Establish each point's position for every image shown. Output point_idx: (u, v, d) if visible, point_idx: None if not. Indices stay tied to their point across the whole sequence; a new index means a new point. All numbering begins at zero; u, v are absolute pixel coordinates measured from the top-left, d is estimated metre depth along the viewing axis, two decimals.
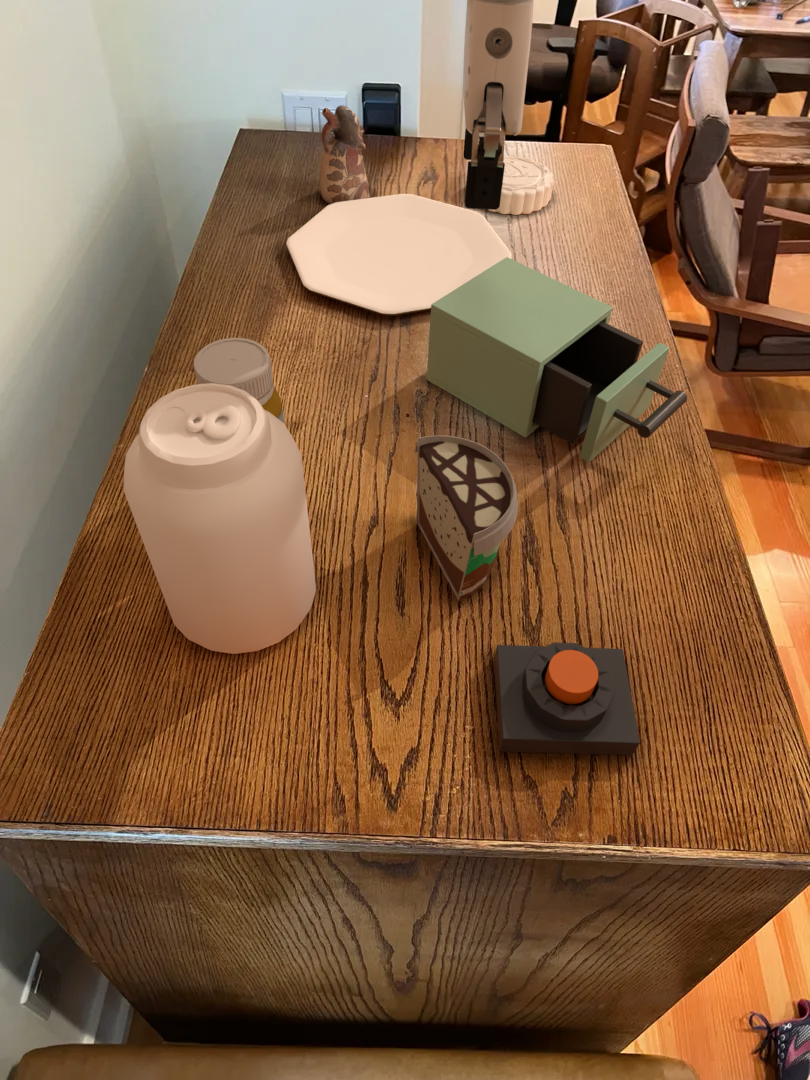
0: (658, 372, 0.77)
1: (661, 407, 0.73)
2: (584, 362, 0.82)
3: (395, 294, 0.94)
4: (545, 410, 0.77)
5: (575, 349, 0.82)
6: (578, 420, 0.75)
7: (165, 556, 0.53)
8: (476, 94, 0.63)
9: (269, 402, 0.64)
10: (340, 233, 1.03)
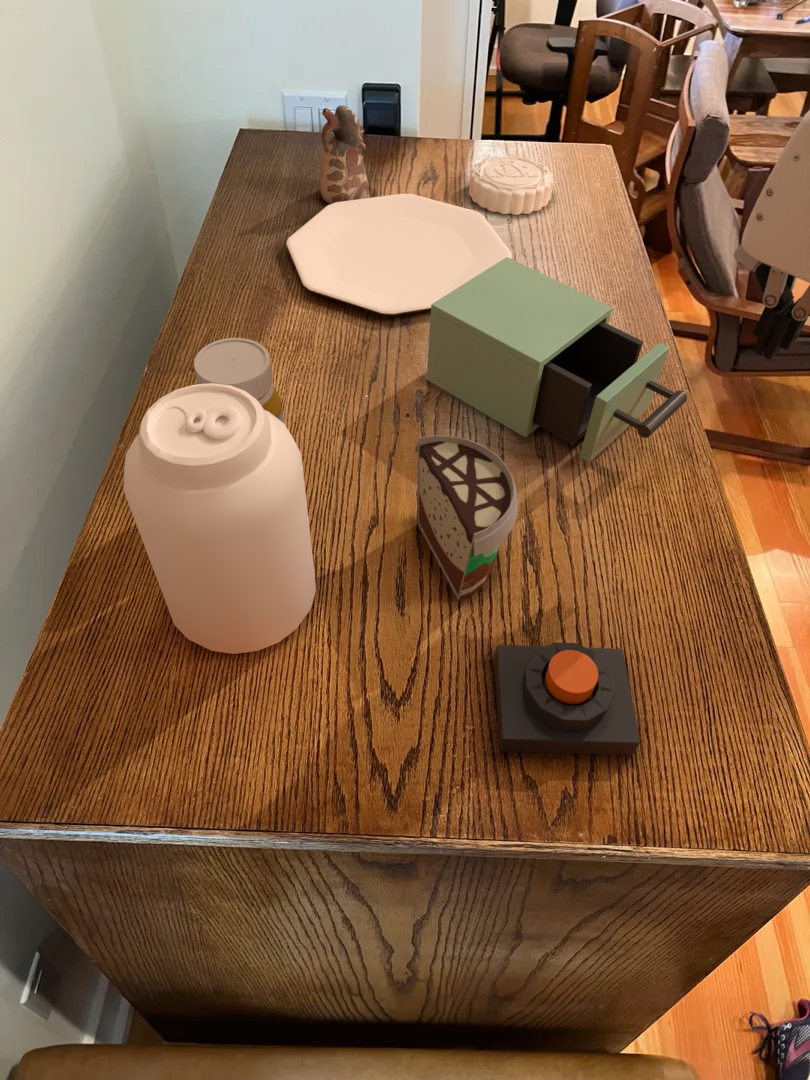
0: (658, 372, 0.77)
1: (661, 407, 0.73)
2: (584, 362, 0.82)
3: (395, 294, 0.94)
4: (545, 410, 0.77)
5: (575, 349, 0.82)
6: (578, 420, 0.75)
7: (165, 556, 0.53)
8: None
9: (269, 402, 0.64)
10: (340, 233, 1.03)
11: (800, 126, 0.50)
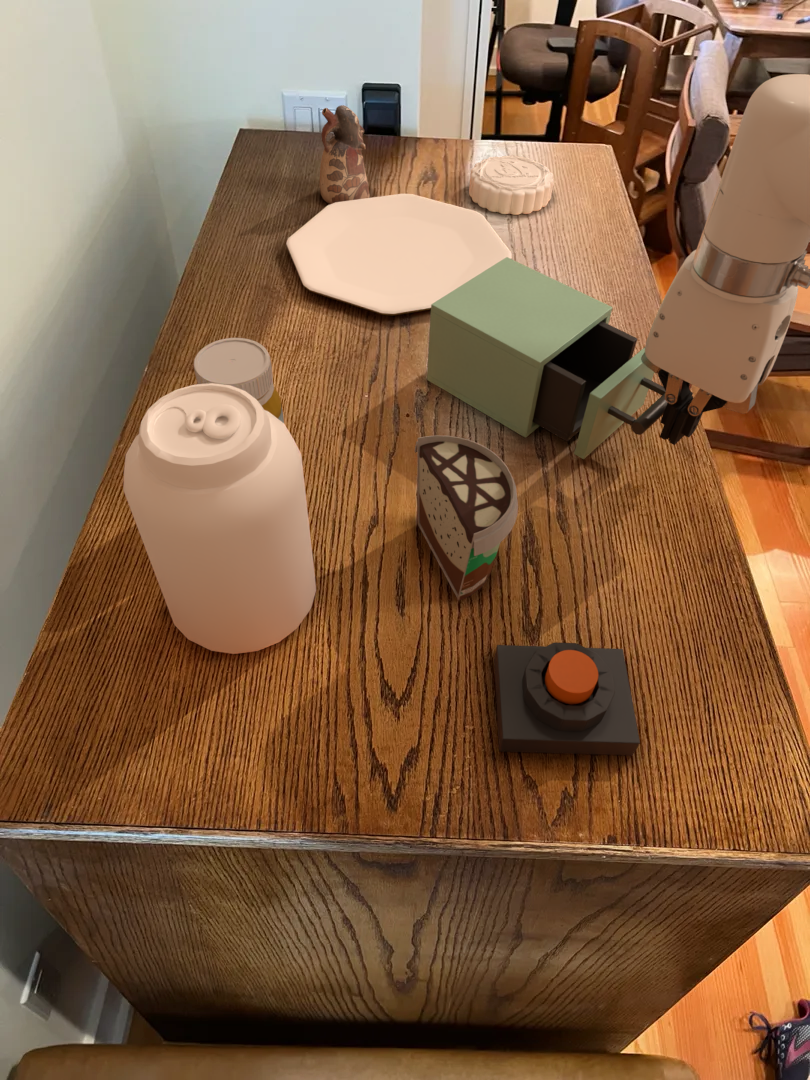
0: None
1: (655, 404, 0.73)
2: (579, 359, 0.82)
3: (395, 294, 0.94)
4: (540, 407, 0.77)
5: (570, 346, 0.82)
6: (572, 417, 0.75)
7: (165, 556, 0.53)
8: (758, 374, 0.63)
9: (269, 401, 0.64)
10: (340, 233, 1.03)
11: (681, 269, 0.62)
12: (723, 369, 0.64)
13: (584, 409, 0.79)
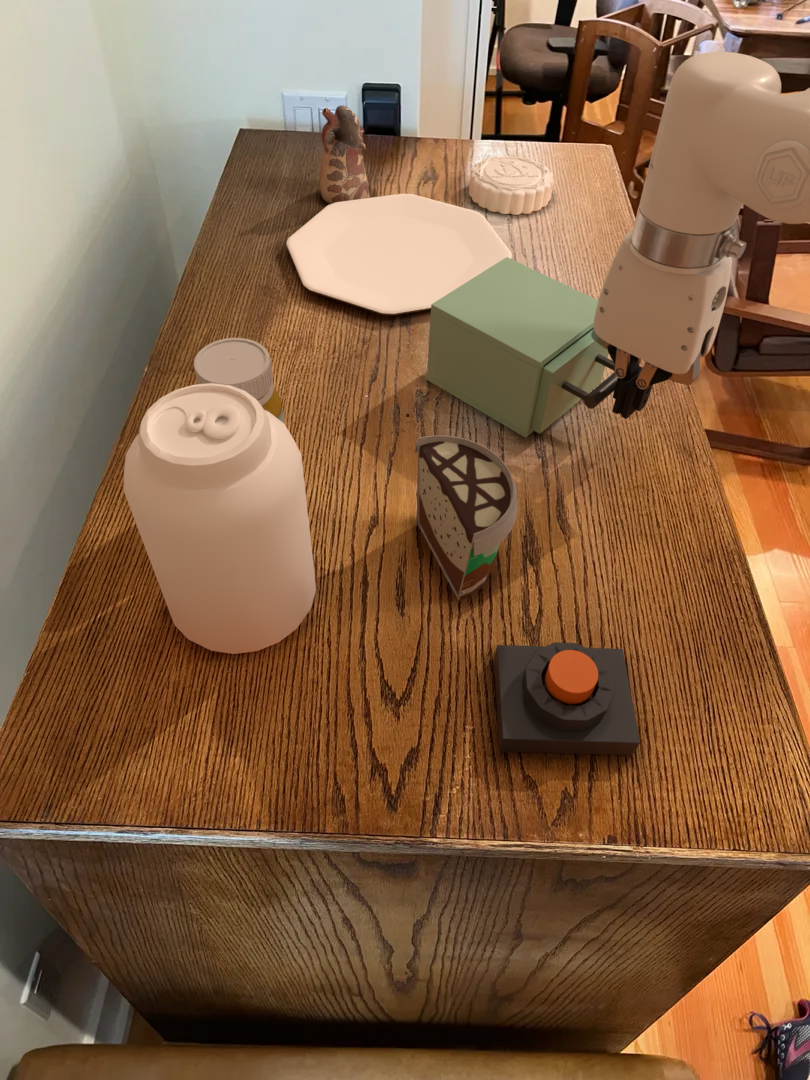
0: None
1: (608, 379, 0.76)
2: None
3: (395, 294, 0.94)
4: None
5: None
6: None
7: (165, 556, 0.53)
8: (698, 345, 0.65)
9: (269, 401, 0.64)
10: (340, 233, 1.03)
11: (621, 244, 0.64)
12: (665, 341, 0.66)
13: None
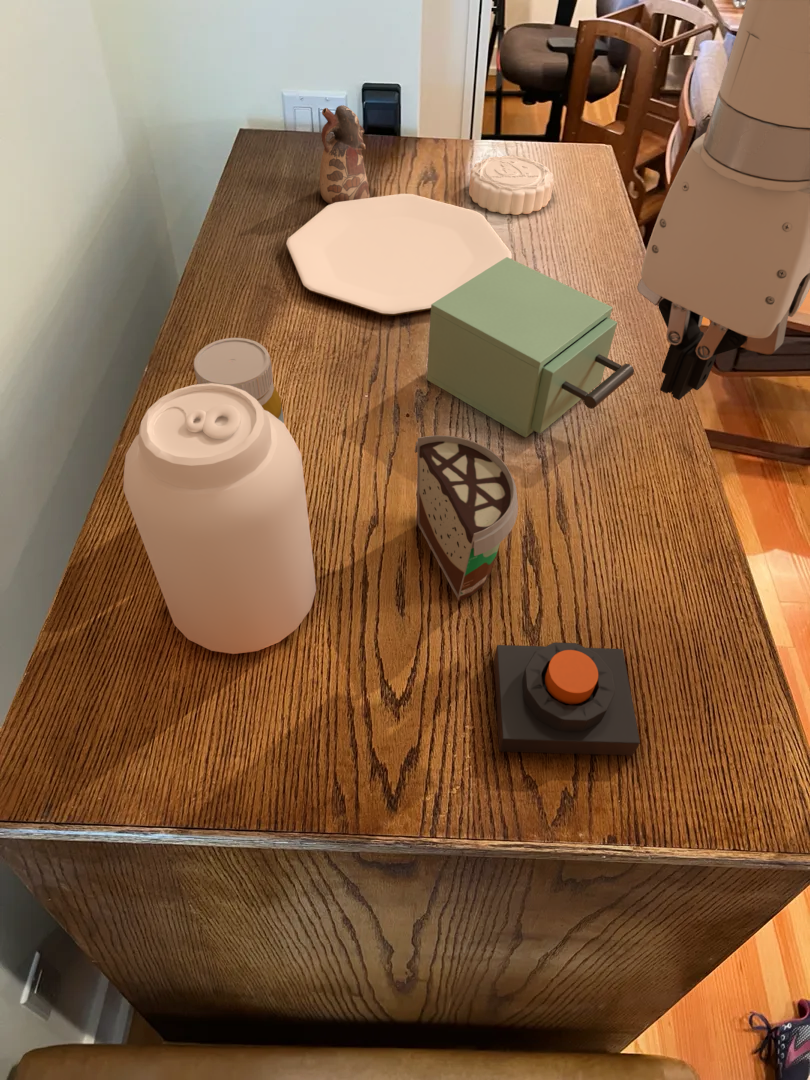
0: (607, 347, 0.80)
1: (608, 379, 0.76)
2: None
3: (395, 294, 0.94)
4: None
5: None
6: None
7: (165, 556, 0.53)
8: (789, 296, 0.47)
9: (269, 401, 0.64)
10: (340, 233, 1.03)
11: (688, 153, 0.46)
12: (742, 291, 0.48)
13: None
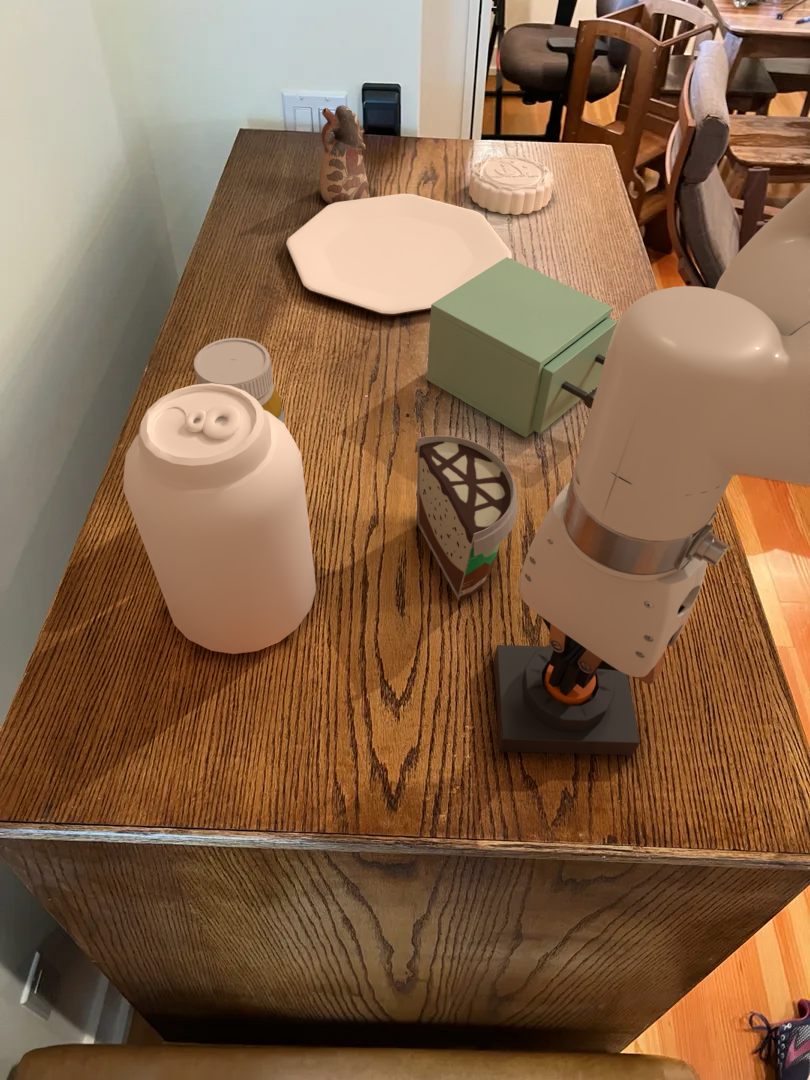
0: (607, 347, 0.80)
1: None
2: None
3: (395, 294, 0.94)
4: None
5: None
6: None
7: (165, 556, 0.53)
8: (659, 652, 0.45)
9: (269, 401, 0.64)
10: (340, 233, 1.03)
11: (550, 511, 0.44)
12: (613, 640, 0.46)
13: None
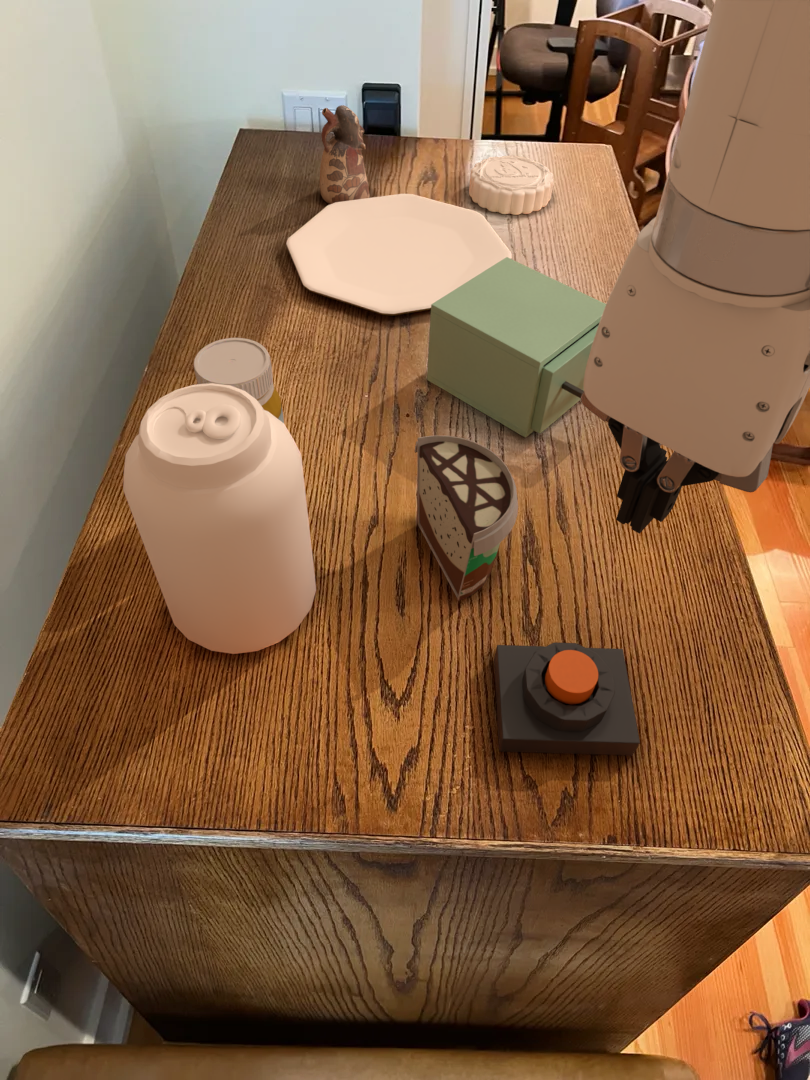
0: None
1: None
2: None
3: (395, 294, 0.94)
4: None
5: None
6: None
7: (165, 556, 0.53)
8: (774, 431, 0.36)
9: (269, 401, 0.64)
10: (340, 233, 1.03)
11: (633, 249, 0.35)
12: (712, 422, 0.37)
13: None
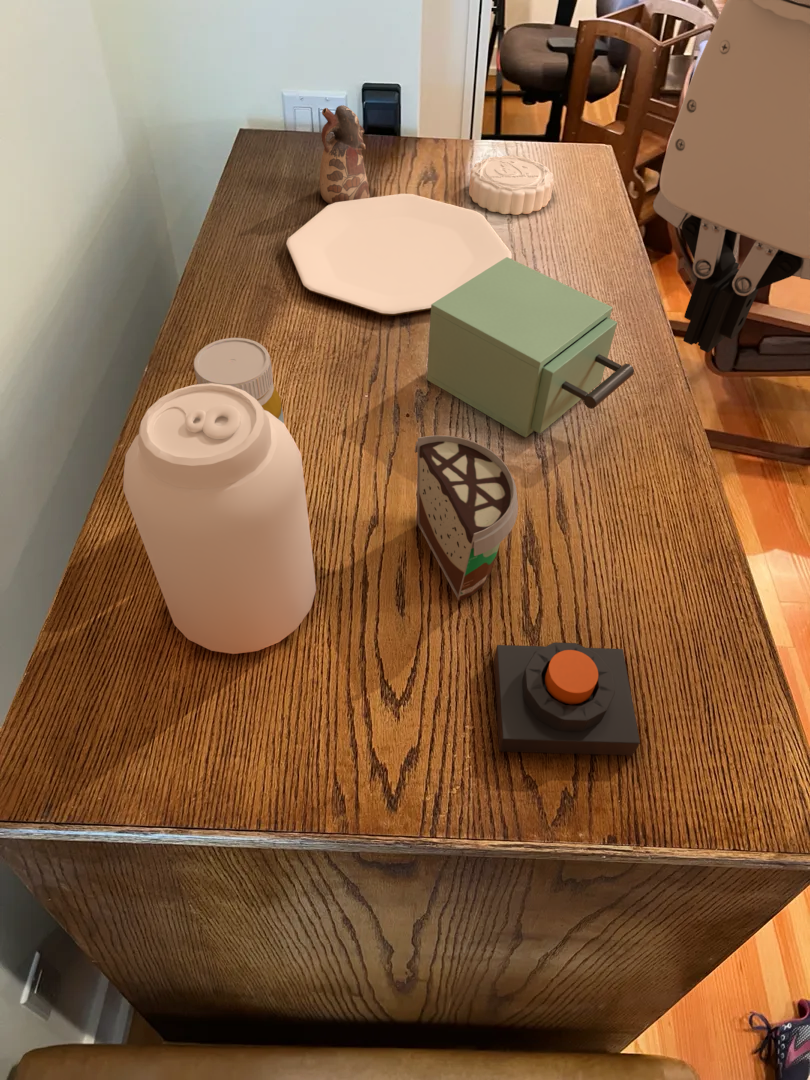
0: (607, 347, 0.80)
1: (608, 379, 0.76)
2: None
3: (395, 294, 0.94)
4: None
5: None
6: None
7: (165, 556, 0.53)
8: None
9: (269, 401, 0.64)
10: (340, 233, 1.03)
11: None
12: (803, 192, 0.35)
13: None
